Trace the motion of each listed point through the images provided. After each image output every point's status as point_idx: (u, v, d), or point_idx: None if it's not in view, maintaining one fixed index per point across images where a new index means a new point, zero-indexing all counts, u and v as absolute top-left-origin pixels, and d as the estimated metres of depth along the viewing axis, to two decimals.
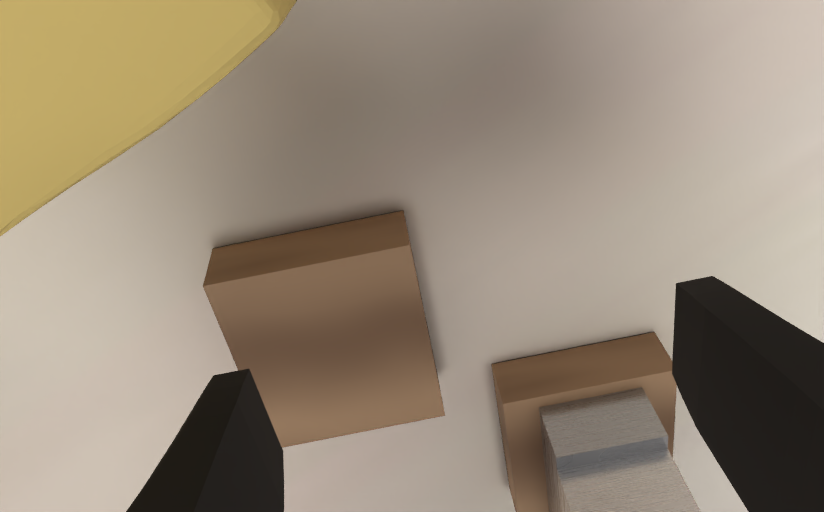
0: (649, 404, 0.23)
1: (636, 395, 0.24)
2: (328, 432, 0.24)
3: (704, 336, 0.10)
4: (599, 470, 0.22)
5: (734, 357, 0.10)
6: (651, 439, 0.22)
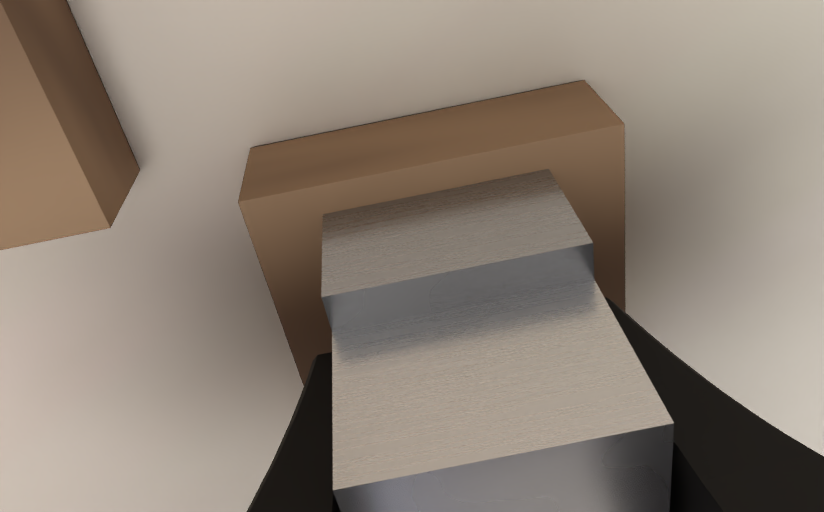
0: (559, 193, 0.10)
1: (533, 181, 0.11)
2: None
3: None
4: (427, 327, 0.09)
5: None
6: (553, 253, 0.09)
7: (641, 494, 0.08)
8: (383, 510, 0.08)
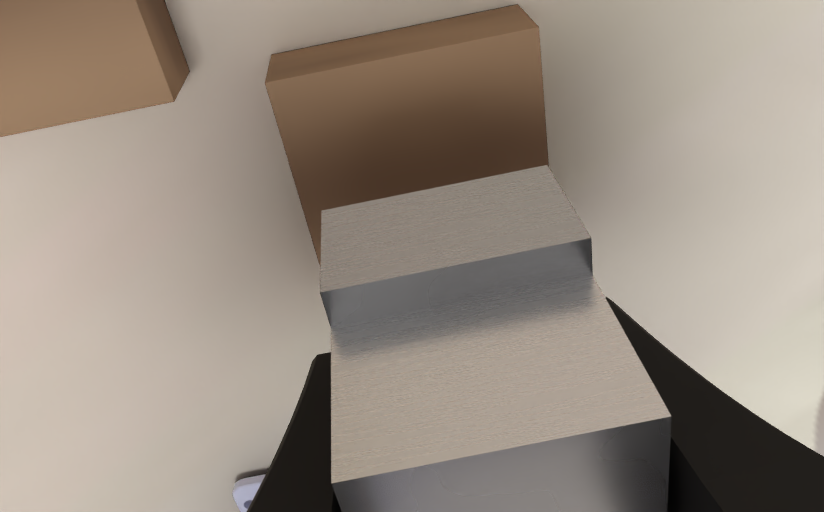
0: (557, 189, 0.10)
1: (532, 178, 0.11)
2: None
3: None
4: (425, 323, 0.09)
5: None
6: (551, 249, 0.09)
7: (639, 488, 0.08)
8: (381, 503, 0.08)
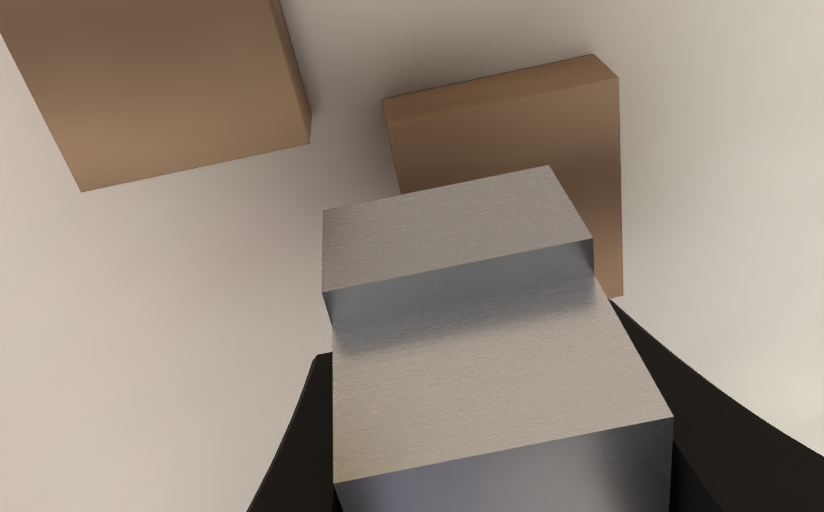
0: (559, 189, 0.10)
1: (533, 178, 0.11)
2: (153, 166, 0.18)
3: None
4: (427, 323, 0.09)
5: None
6: (553, 249, 0.09)
7: (640, 489, 0.08)
8: (384, 502, 0.08)
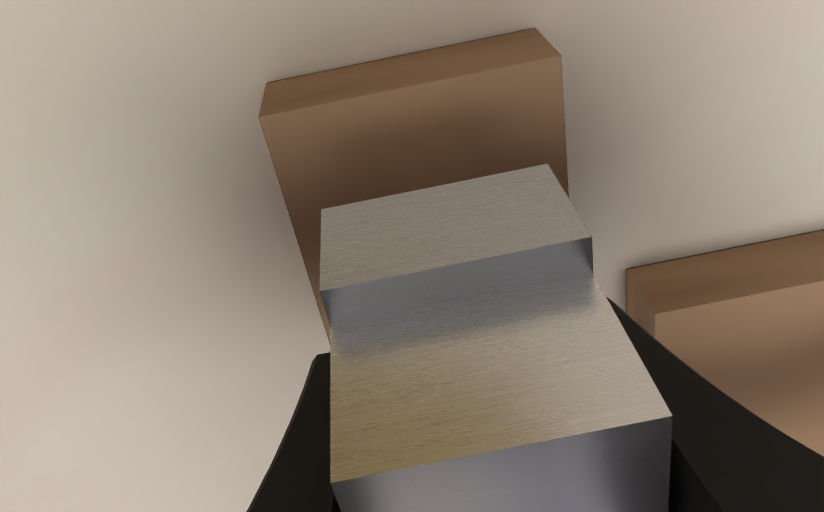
0: (557, 188, 0.10)
1: (532, 176, 0.11)
2: None
3: None
4: (425, 322, 0.09)
5: None
6: (552, 248, 0.09)
7: (639, 489, 0.08)
8: (381, 503, 0.07)
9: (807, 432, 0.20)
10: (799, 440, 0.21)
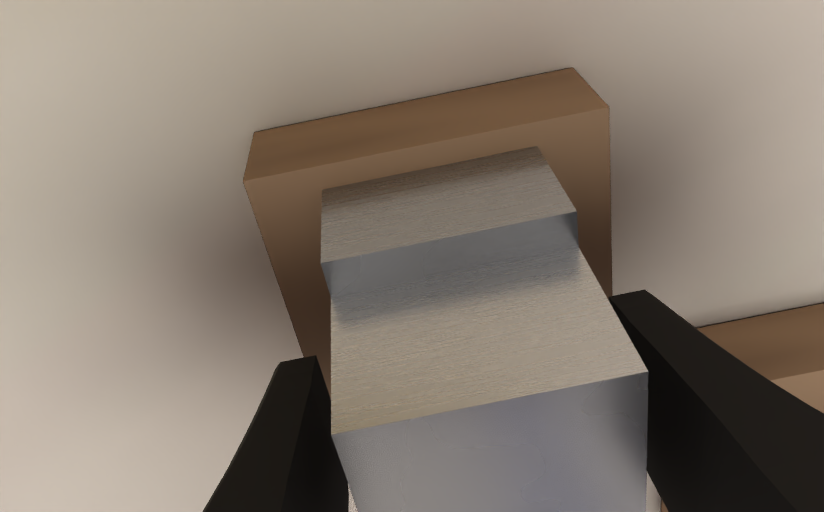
0: (546, 168, 0.11)
1: (522, 157, 0.11)
2: None
3: None
4: (421, 292, 0.10)
5: (656, 372, 0.10)
6: (539, 222, 0.10)
7: (619, 442, 0.08)
8: (378, 455, 0.08)
9: None
10: None
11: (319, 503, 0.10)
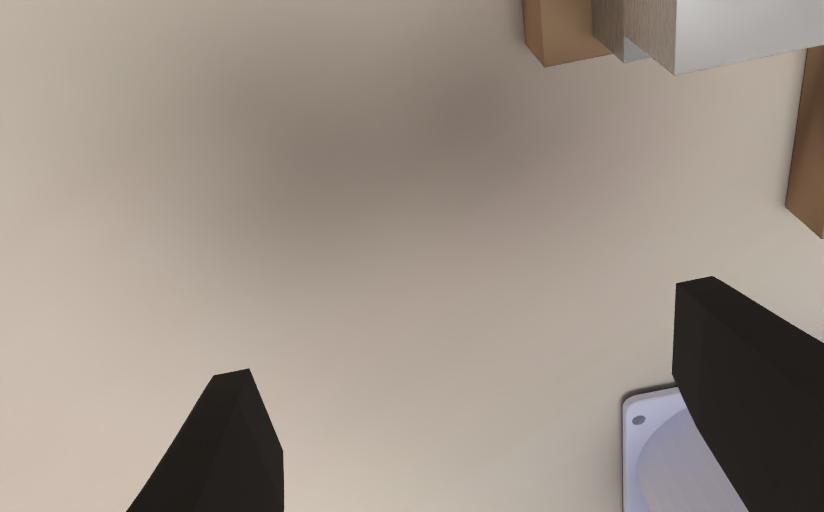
0: None
1: None
2: None
3: (704, 336, 0.10)
4: None
5: (734, 357, 0.10)
6: None
7: None
8: None
9: None
10: None
11: None
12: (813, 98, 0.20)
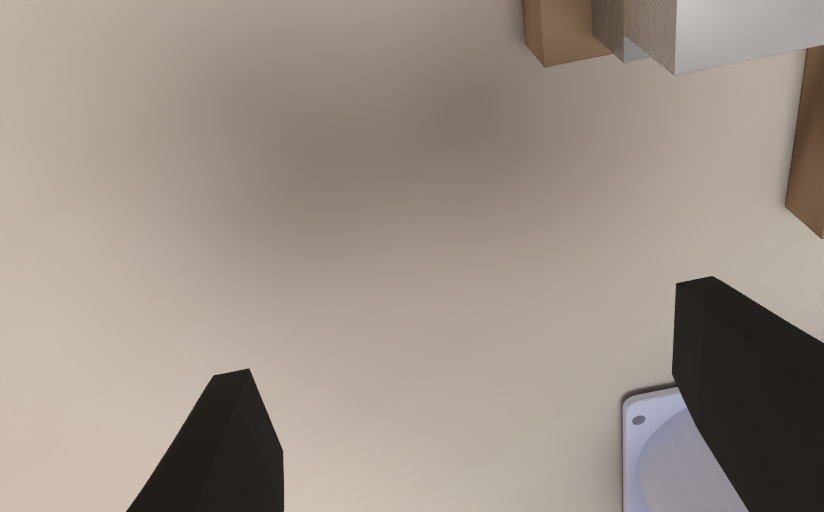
0: None
1: None
2: None
3: (704, 336, 0.10)
4: None
5: (734, 357, 0.10)
6: None
7: None
8: None
9: None
10: None
11: None
12: (813, 98, 0.20)
